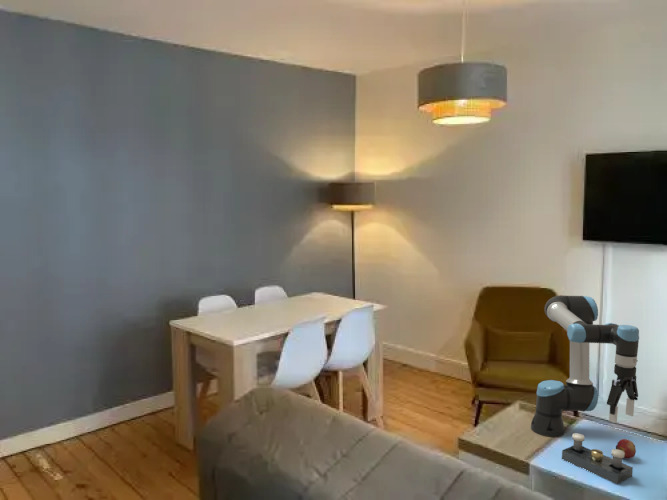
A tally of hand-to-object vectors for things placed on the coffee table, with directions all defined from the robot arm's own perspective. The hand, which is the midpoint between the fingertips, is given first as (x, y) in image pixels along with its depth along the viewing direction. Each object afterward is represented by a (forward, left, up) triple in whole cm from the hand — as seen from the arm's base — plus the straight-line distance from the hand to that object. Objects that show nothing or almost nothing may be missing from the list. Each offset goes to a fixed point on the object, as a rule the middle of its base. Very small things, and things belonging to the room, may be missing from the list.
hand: (621, 418), depth 217 cm
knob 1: (-17, 0, -20) cm, 26 cm away
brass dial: (-9, 0, -20) cm, 22 cm away
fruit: (-7, +19, -24) cm, 32 cm away
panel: (-9, 0, -24) cm, 26 cm away
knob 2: (0, 0, -20) cm, 20 cm away
